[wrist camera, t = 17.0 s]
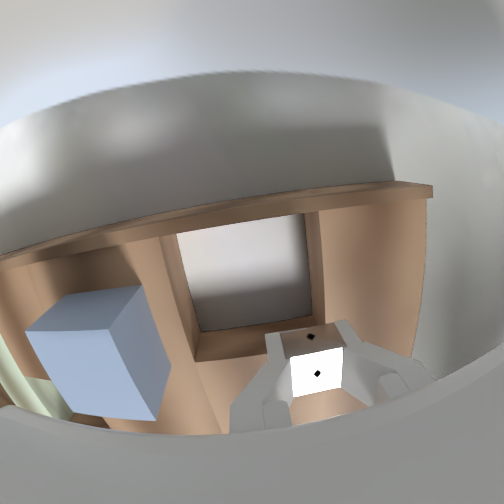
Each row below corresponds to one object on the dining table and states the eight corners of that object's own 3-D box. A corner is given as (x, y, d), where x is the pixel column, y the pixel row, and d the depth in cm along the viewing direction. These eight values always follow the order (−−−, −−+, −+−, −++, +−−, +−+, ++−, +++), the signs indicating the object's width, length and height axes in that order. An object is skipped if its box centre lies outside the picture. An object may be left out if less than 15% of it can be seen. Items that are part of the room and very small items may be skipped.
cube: (142, 284, 12) (108, 329, 8) (171, 366, 13) (156, 421, 10) (65, 294, 12) (24, 331, 8) (98, 367, 13) (73, 412, 10)
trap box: (395, 180, 14) (465, 191, 8) (381, 390, 19) (409, 439, 13) (-32, 267, 14) (-71, 289, 8) (36, 405, 19) (15, 439, 13)
